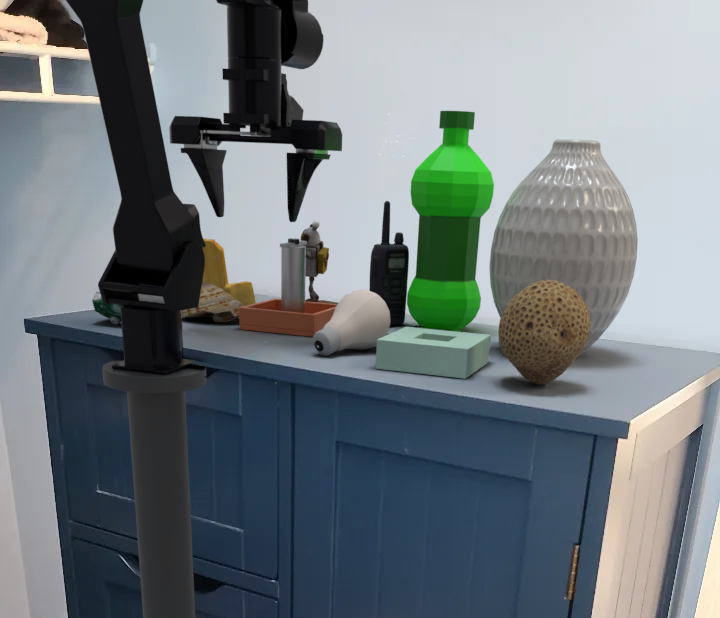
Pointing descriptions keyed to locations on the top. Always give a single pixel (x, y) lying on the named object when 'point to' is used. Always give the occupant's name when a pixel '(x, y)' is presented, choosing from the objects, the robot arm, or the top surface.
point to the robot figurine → (315, 258)
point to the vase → (568, 233)
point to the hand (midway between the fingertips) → (256, 219)
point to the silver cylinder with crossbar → (293, 275)
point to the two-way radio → (390, 270)
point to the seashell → (214, 305)
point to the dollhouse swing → (224, 274)
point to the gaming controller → (107, 308)
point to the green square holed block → (433, 352)
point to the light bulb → (354, 324)
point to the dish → (285, 318)
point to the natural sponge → (544, 330)
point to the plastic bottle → (449, 228)
